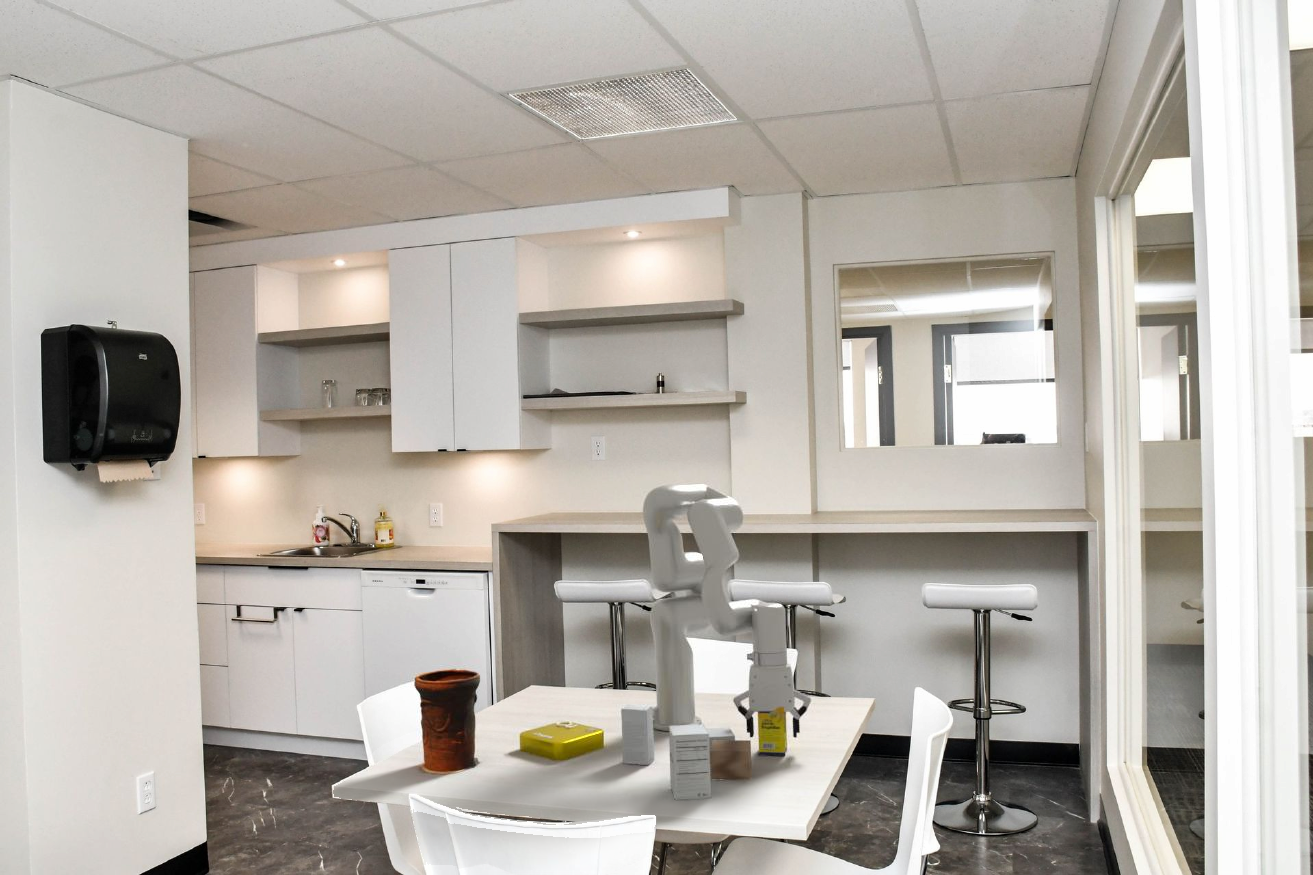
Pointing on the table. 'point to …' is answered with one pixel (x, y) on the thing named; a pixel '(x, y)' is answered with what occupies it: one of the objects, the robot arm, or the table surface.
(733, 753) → the walnut block
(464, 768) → the vessel
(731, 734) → the grey block
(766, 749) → the supplement box
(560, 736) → the element tile
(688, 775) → the supplement box
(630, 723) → the skincare box
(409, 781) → the table surface
